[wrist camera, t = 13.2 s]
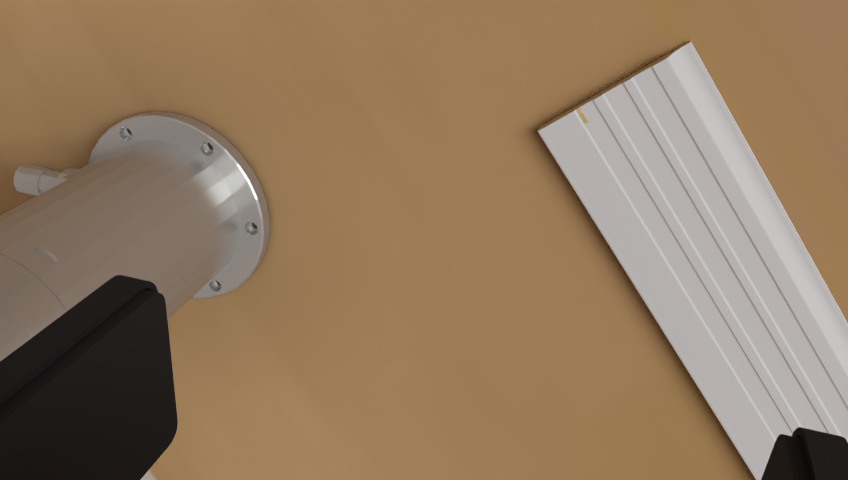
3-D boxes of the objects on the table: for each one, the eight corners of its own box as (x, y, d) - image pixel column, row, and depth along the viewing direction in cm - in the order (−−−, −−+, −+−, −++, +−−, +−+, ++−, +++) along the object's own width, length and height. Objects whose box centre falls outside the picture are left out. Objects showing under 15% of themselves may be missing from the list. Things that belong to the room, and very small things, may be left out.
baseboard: (719, 21, 36) (540, 123, 41) (723, 32, 34) (532, 140, 38) (969, 483, 43) (791, 526, 48) (987, 520, 41) (798, 562, 45)
